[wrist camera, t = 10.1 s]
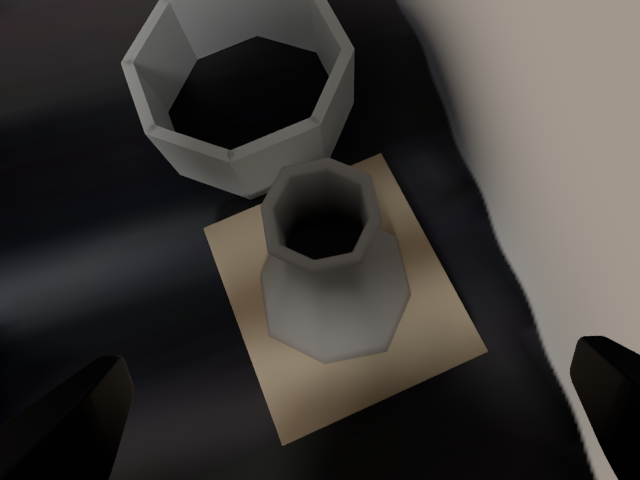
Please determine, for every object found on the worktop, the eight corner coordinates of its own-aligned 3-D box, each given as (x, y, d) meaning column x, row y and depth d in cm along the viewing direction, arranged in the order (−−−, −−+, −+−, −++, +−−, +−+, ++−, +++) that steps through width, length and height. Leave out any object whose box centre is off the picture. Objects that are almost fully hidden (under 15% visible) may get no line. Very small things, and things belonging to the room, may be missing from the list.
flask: (247, 353, 20) (153, 335, 10) (272, 209, 22) (213, 83, 12) (404, 375, 19) (458, 377, 10) (415, 223, 21) (468, 101, 12)
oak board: (475, 353, 21) (488, 351, 19) (288, 439, 21) (282, 446, 19) (378, 170, 24) (380, 153, 23) (215, 239, 24) (203, 228, 22)
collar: (377, 146, 25) (382, 99, 21) (197, 222, 24) (164, 189, 20) (303, 9, 28) (295, -56, 24) (143, 72, 28) (105, 17, 23)
